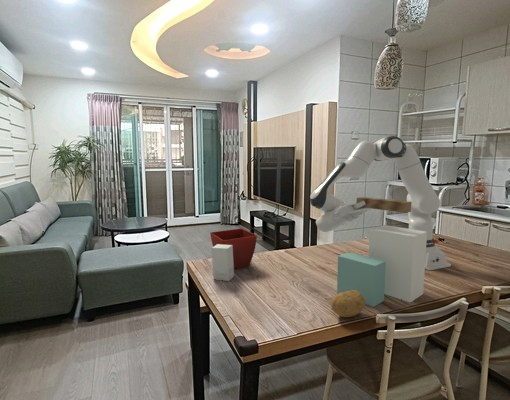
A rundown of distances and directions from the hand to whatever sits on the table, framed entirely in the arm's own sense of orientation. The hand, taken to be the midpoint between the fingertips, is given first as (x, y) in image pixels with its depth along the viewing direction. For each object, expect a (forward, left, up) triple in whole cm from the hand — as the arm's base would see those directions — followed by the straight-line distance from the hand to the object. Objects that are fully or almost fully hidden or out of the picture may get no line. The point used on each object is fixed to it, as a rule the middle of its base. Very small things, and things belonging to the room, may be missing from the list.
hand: (368, 201), depth 138 cm
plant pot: (+55, -36, -37) cm, 75 cm away
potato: (+22, +26, -37) cm, 50 cm away
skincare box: (+62, -18, -37) cm, 74 cm away
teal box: (+10, +14, -36) cm, 40 cm away
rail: (-3, +5, -2) cm, 7 cm away
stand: (-7, +11, -36) cm, 39 cm away
